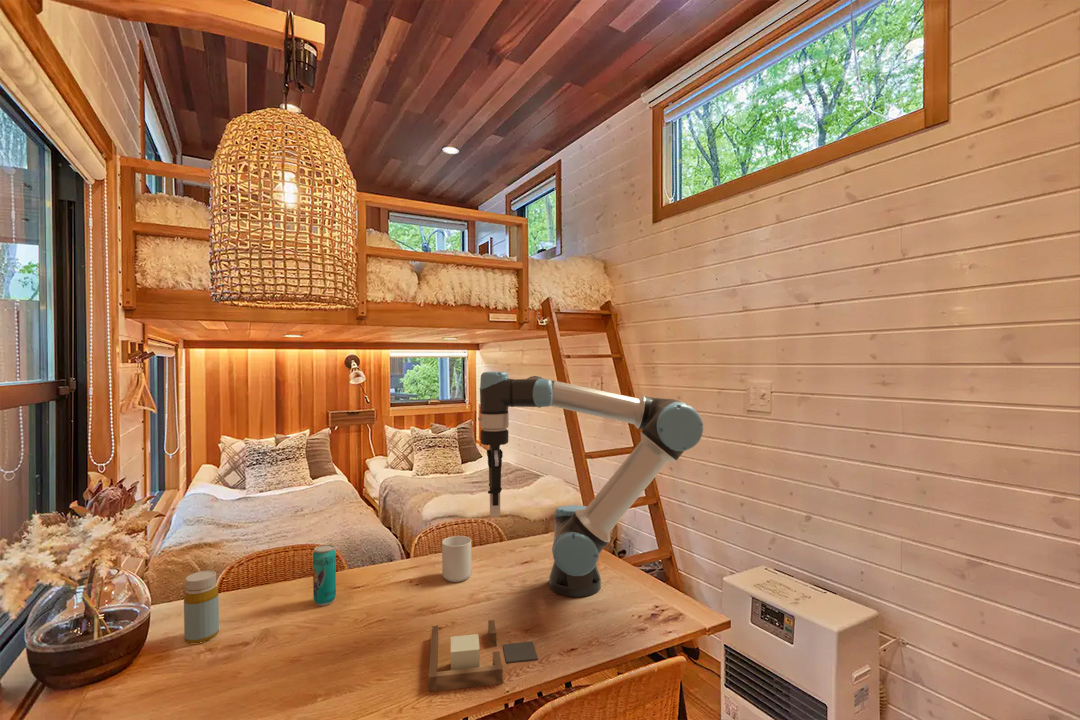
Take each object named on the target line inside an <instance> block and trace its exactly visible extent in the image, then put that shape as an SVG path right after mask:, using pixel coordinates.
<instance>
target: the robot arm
mask: <svg viewBox="0 0 1080 720" xmlns="http://www.w3.org/2000/svg"><path fill="white" fill-rule="evenodd" d="M479 405H480V407H479V408H480V411H479V413H480V416H478V417H477V419H478V421H480V429H481V430H480V433H479V434H480V444H481V445H484V446H489V449H487V450H486V457H487V465H488V487H489V490H487V494H489V517H490V518H499V517H500V518H501V492H502V489H503V488H502V466H503V465H502V464H503V459H502V458H503V450H502V449H501V448H500V447H501V446H502V445H503V446H504V445H507V444H508V443H509V430H508V428H509V424H510V423H509V407H510V408H515V407H516V408H518V407H519V408H547V407H552V408H553V407H555V408H558V409H563V410H568V411H571V412H576V413H580V414H581V413H582V414H586V415H590V416H594V417H600V418H603V419H604V418H605V419H607V420H608V419H609V420H613V421H618V422H622V423H627V424H630V425H631V424H632V425H634V427H635V428H636V429H638V430H641V431H640V442H638V444H637V445H636V447H634V449H633V450H632V452H631V453H630V454H628V456H627V457H626V459H625V460H624V461H623V463H622V464H620V466H619V467H618V468H617V469H616V471H615V472H614V473H613V475H612V476H611V477H610V478H609V479H608V481H607V482H606V483H605V484H604V485H603V487H602V488H601V489H600V490H599V492H598V493H597V494H596V495H595V497H594V498H593V499H592V501H590V502H589V504H588V505H587V506H586V505H577V504H576V505H575V504H574V505H562V506H558V507H557V508H556V509H555V510H554V516H553V517H554V536H553V542H552V543H553V544H552V547H551V548H552V549H551V550H552V556H553V560H554V561H553V565H552V568H551V571H550V574H549V578H548V579H549V581H548V583H549V585H548V586H549V588H550V589H551V590H552V592H554V593H556V594H559V595H561V596H564V597H572V598H580V597H588V596H591V595H593V594H596V593H598V592H599V591H600V590H601V587H602V578H601V574H600V572H599V569H598V565H597V563H598V562H599V558H600V557H599V555H600V554H601V552H602V551H603V550H604V549H605V548H606V546H608V545H609V543H610V541H611V534H610V533H611V531H612V530H613V528H614V527H615V526H616V525H617V524H618V523H619V521H620V520H621V518H623V516H624V515H625V514H626V513H627V512H628V510H629V509H630V508H631V507H632V506H633V504H634V503H635V502H636V501H637V500H638V499H639V497H641V494H642V493H643V492H644V491H645V490H646V489H647V487H648V486H649V485H650V484H651V482H652V481H653V480H654V479H655V477H657V475H658V474H659V473H660V472H661V470H662V469H663V468H664V467H665V465H666V464H667V463H672V462H676V461H678V459H679V458H680V457H681V456H682V455H683V454H684V452H685V451H688V450H691V449H693V448H694V447H695V446H696V445H698V444H699V442H700V441H701V439H702V437H703V433H704V423H703V420H702V418H701V415H700V414H699V413H698V411H697V410H696V409H695V408H694V407H693V406H691V405H689V404H688V403H686V402H682V401H680V400H677V399H675V398H674V399H673V398H658V397H652V396H651V397H650V396H646V395H642V396H641V397H633V396H629V395H624V394H620V393H614V392H610V391H605V390H600V389H597V388H596V389H595V388H591V387H586V386H581V385H578V384H577V385H576V384H572V383H567V382H562V381H559V380H558V381H557V380H552V379H549V378H543V377H542V376H538V375H537V376H536V375H532V376H529V377H527V378H517V379H515V378H510V377H509V374H508V372H507V371H485V372H484V371H483V372H482V373H481V374H480V384H479Z"/></svg>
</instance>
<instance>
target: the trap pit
mask: <svg viewBox="0 0 1080 720" xmlns="http://www.w3.org/2000/svg"><path fill="white" fill-rule="evenodd" d="M502 647H503V651H504V652H503V653H504V656H505V662H506V664H511V663H520V662H522V663H523V662H527V661H528V662H530V661H538V659H539V658H538V655H537V652H536V648H535V645H534V641H533V640H531V641H523V642H521V641H520V642H512V643H504V644H503V645H502Z"/></svg>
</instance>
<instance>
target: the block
mask: <svg viewBox="0 0 1080 720" xmlns="http://www.w3.org/2000/svg"><path fill="white" fill-rule="evenodd" d="M480 656H481V655H480V640H479V634H478V633H477V634H476V633H475V634H465V635H455V636H450V670H458V669H467V668H476V667H481V664H480V659H481V657H480Z"/></svg>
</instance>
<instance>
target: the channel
mask: <svg viewBox="0 0 1080 720" xmlns="http://www.w3.org/2000/svg"><path fill="white" fill-rule="evenodd" d="M495 621H496V620H495V619H489V620H488V621H487V627H488V628H487V629H488V631H487V632H488V640H489V646H490V647H496V646H497V645H498V644H497V643H498V641H497V639H498V635H497V627H496V622H495ZM429 652H430V653H429V667H428V693H432V692H440V691H447V690H448V691H449V690H455V689H456V690H459V689H465V688H474V687H481V686H492V685H499V684H501V685H502V684H504V670H503V669H504V668H503V667H504V666H503V663H502V662H503V661H502V656H501V651H500V650H498V651H493V652H492V665H488V666H487V665H486V666H485V665H484V666H480V667H476V668H467V669H458V670H451V669H450V670H444V671H443V670H441V671H438V659H439V656H438V655H439V653H438V652H439V625H431V634H430V651H429Z"/></svg>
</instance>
